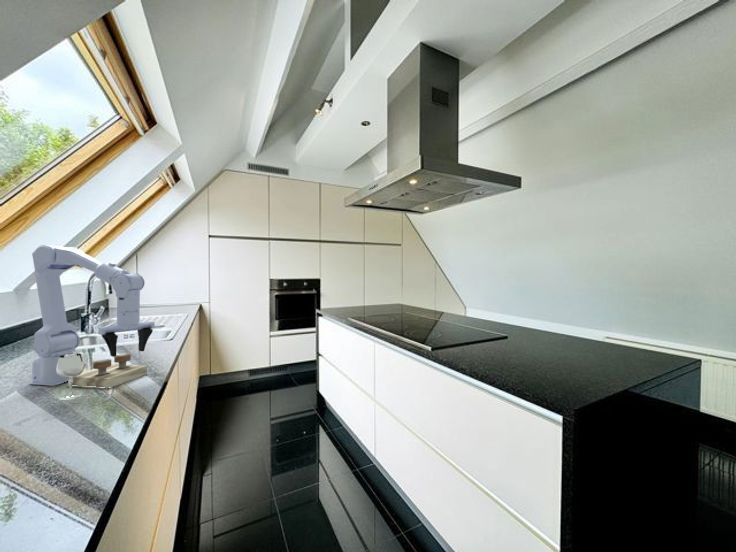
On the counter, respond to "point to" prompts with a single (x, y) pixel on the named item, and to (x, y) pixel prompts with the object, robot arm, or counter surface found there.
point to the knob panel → (110, 376)
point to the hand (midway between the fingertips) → (127, 353)
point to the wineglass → (70, 368)
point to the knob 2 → (122, 359)
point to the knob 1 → (102, 366)
